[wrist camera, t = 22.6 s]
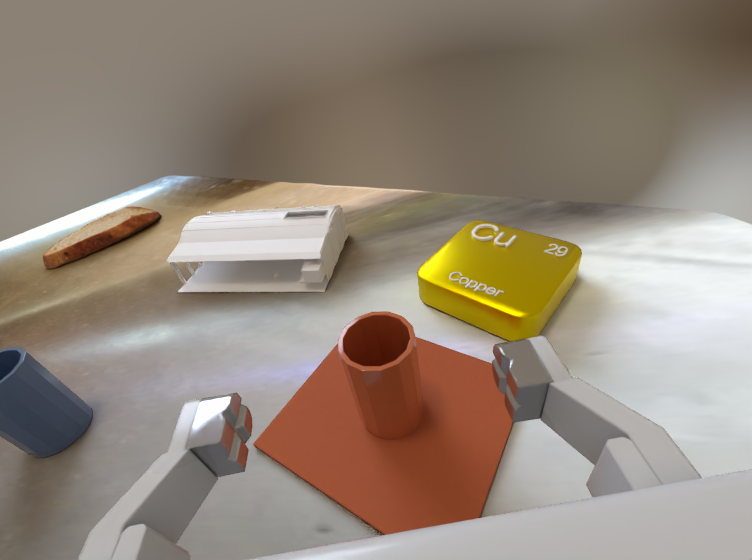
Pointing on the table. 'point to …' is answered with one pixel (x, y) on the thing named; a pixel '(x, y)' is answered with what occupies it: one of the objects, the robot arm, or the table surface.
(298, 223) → the model shed
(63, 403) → the blue cup
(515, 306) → the element tile
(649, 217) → the table surface
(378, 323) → the terracotta cup
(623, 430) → the robot arm
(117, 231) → the bread slice
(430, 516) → the terracotta mat
